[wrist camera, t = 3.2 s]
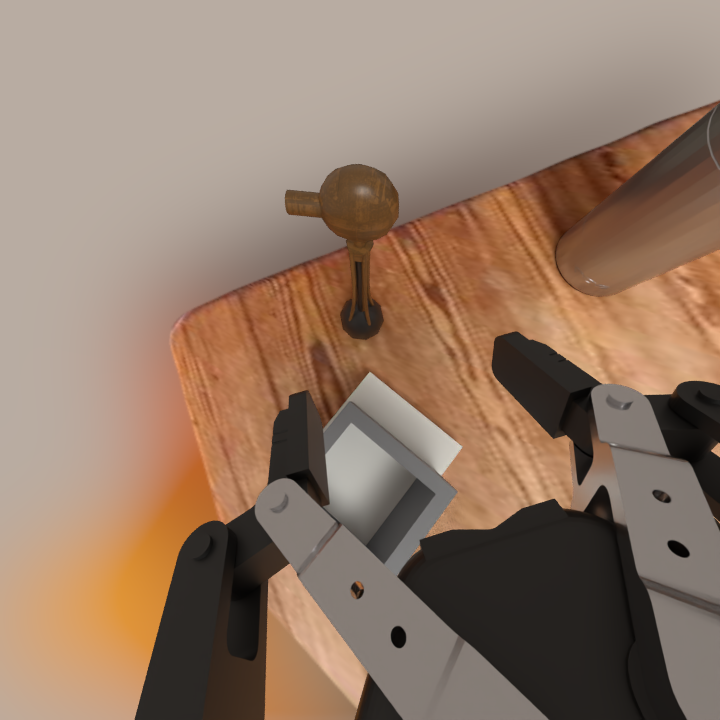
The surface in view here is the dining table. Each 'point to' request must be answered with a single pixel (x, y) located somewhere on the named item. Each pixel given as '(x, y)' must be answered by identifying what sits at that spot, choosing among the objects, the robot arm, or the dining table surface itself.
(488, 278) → the dining table surface
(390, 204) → the wooden tabletop sculpture
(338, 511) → the socket board
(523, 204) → the dining table surface
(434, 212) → the dining table surface
